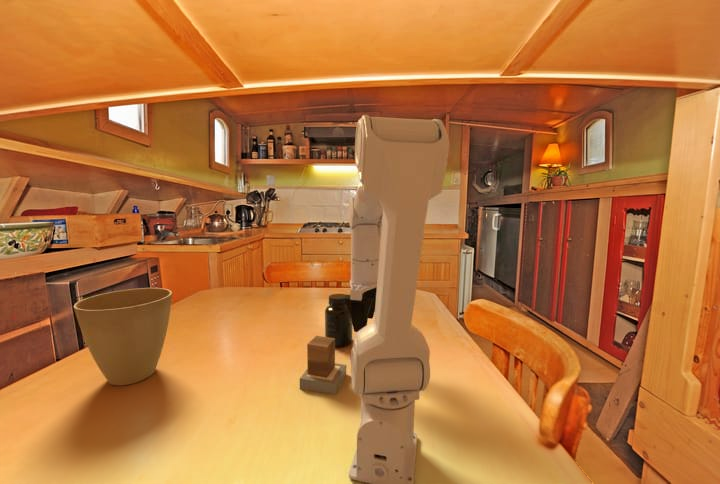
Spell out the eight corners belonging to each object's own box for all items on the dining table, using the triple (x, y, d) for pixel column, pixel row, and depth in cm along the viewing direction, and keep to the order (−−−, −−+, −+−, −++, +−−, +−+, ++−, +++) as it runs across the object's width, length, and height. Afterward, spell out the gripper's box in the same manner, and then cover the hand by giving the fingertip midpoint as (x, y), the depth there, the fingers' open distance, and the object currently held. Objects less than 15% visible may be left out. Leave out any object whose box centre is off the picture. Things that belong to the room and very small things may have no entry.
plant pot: (187, 354, 69) (183, 286, 67) (155, 394, 54) (149, 308, 52) (113, 359, 66) (107, 288, 64) (58, 402, 52) (49, 312, 50)
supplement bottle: (340, 334, 81) (340, 290, 79) (357, 342, 76) (358, 296, 75) (319, 342, 76) (319, 295, 75) (336, 351, 71) (337, 302, 70)
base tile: (335, 394, 55) (335, 383, 54) (299, 388, 56) (299, 378, 56) (346, 374, 61) (346, 364, 61) (314, 369, 63) (314, 359, 63)
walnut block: (327, 377, 56) (327, 347, 56) (307, 374, 57) (307, 344, 57) (334, 367, 60) (335, 338, 59) (316, 363, 61) (316, 335, 61)
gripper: (378, 267, 53) (376, 341, 54) (390, 254, 67) (388, 314, 68) (339, 264, 54) (339, 337, 56) (359, 253, 68) (358, 311, 70)
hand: (364, 324), depth 62 cm, fingers open, 7 cm apart
